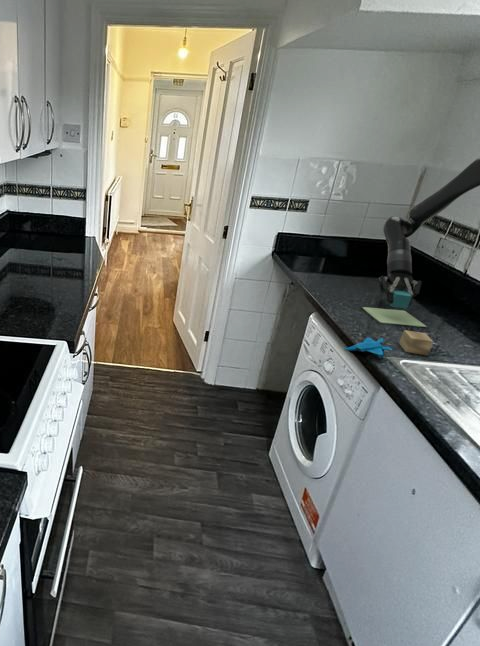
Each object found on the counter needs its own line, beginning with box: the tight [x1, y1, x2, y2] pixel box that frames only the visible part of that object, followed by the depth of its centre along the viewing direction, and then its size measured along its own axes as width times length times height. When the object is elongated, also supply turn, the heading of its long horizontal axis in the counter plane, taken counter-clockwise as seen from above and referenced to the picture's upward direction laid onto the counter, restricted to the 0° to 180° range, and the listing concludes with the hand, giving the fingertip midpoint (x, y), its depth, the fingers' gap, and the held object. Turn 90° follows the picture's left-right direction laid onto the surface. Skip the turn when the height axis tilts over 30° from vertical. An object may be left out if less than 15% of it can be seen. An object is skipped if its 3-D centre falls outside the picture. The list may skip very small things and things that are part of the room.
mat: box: [361, 306, 428, 328], centre depth 156 cm, size 16×14×1 cm
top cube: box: [387, 289, 413, 310], centre depth 153 cm, size 5×5×5 cm
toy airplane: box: [343, 337, 394, 360], centre depth 127 cm, size 12×10×4 cm
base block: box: [398, 329, 434, 356], centre depth 132 cm, size 6×6×5 cm
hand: (399, 304), depth 152 cm, fingers closed on top cube, 5 cm apart
